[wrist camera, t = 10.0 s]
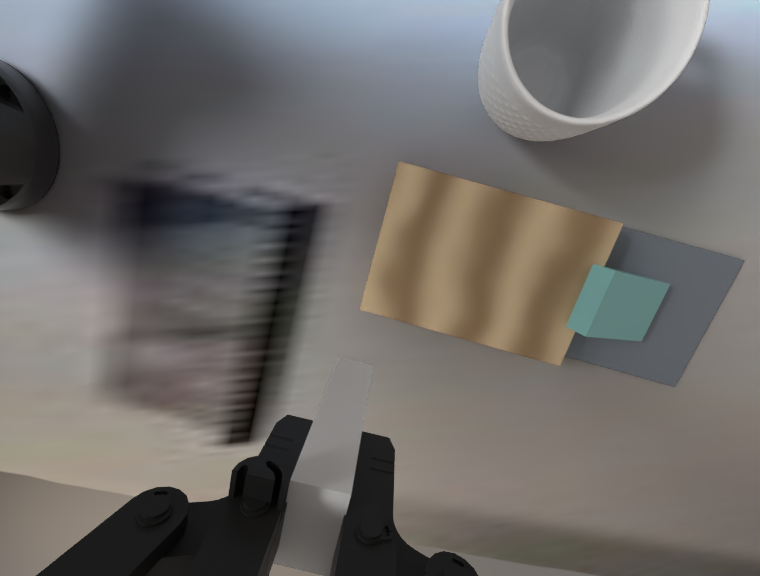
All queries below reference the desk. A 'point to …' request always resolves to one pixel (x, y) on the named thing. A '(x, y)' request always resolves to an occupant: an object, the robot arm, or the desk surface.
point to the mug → (582, 61)
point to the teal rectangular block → (616, 304)
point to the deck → (483, 262)
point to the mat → (663, 306)
